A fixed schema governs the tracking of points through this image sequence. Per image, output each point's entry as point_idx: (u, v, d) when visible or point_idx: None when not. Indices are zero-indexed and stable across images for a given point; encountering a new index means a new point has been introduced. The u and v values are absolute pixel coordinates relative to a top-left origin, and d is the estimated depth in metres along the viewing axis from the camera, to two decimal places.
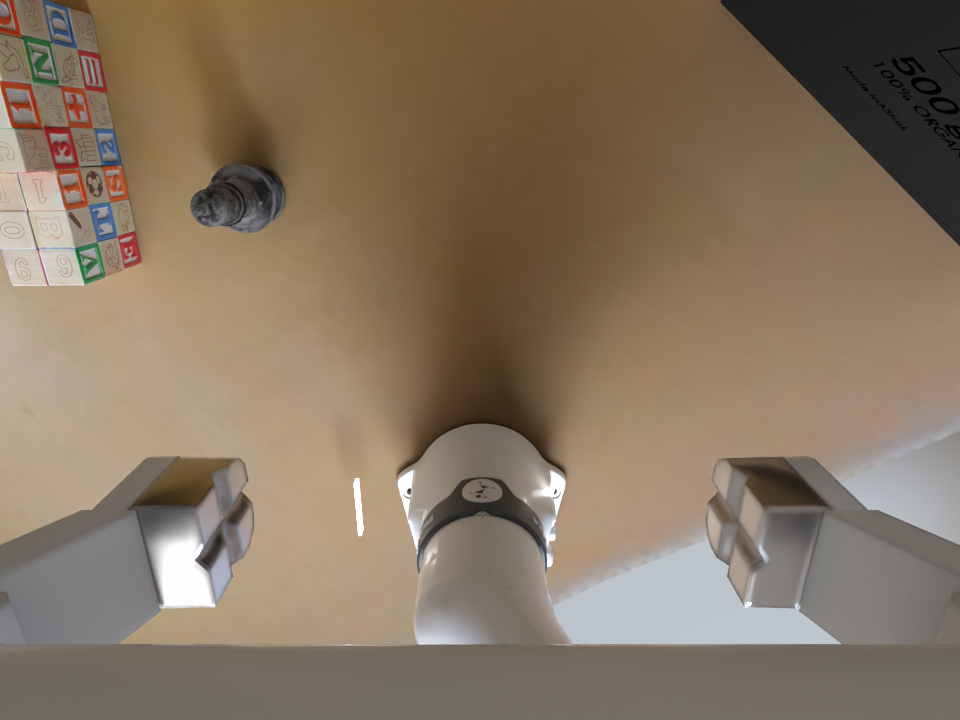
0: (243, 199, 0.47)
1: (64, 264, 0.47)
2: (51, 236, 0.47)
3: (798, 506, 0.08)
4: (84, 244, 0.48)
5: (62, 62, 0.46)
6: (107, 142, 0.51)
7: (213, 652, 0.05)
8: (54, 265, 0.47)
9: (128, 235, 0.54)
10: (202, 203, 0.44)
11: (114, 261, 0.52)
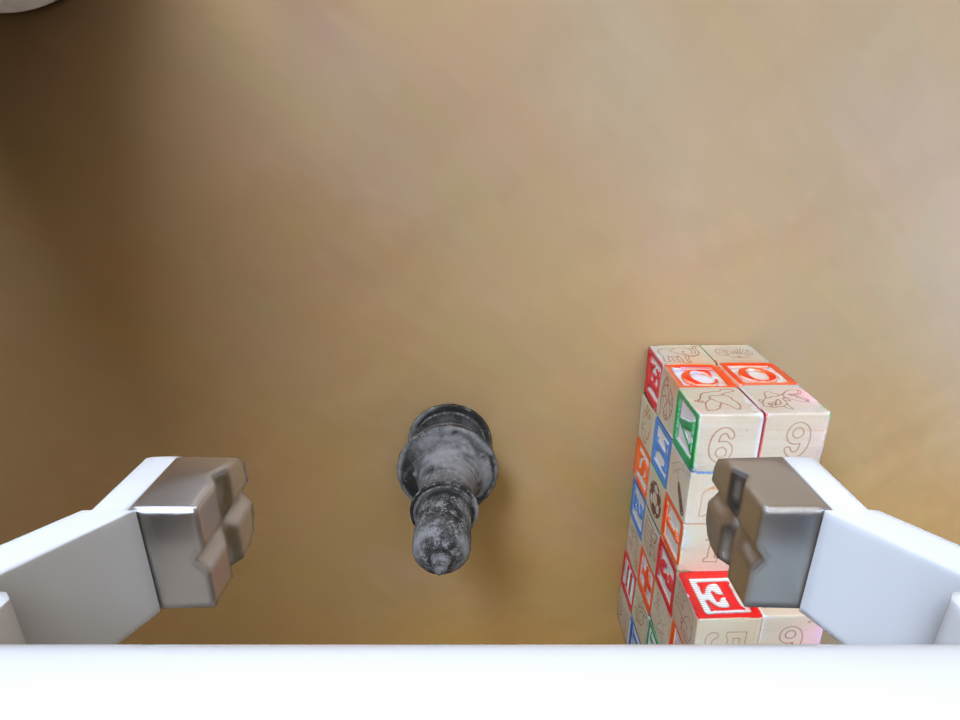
0: (412, 518, 0.30)
1: (721, 447, 0.27)
2: None
3: (798, 506, 0.08)
4: (681, 460, 0.29)
5: (642, 627, 0.36)
6: (637, 510, 0.38)
7: (213, 651, 0.05)
8: (738, 446, 0.27)
9: (649, 397, 0.35)
10: None
11: (666, 391, 0.31)
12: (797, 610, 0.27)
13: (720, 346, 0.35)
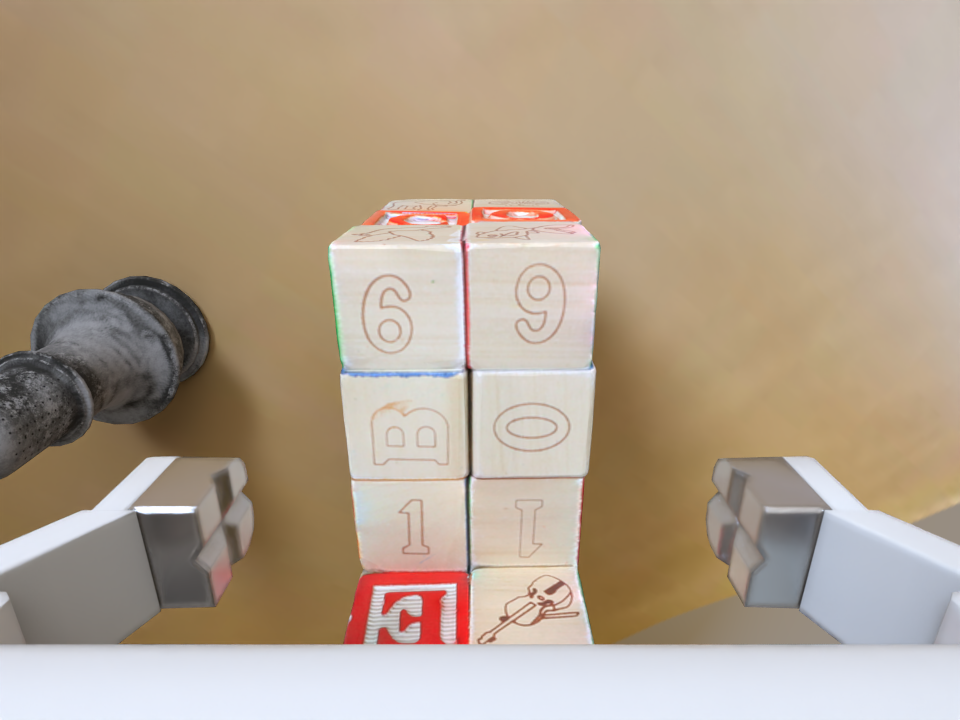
0: None
1: (388, 319, 0.13)
2: (408, 411, 0.14)
3: (798, 506, 0.08)
4: None
5: None
6: None
7: (212, 651, 0.05)
8: (423, 317, 0.13)
9: None
10: None
11: None
12: None
13: (506, 200, 0.21)
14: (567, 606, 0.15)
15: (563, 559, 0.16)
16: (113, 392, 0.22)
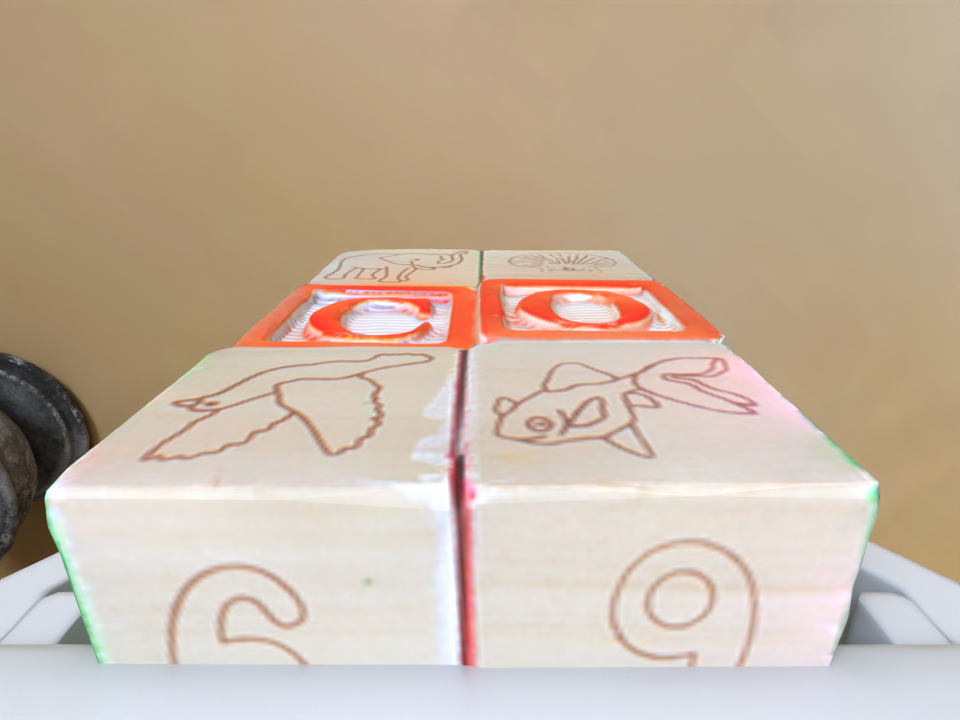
0: None
1: None
2: None
3: None
4: None
5: None
6: None
7: None
8: None
9: None
10: None
11: None
12: None
13: (538, 252, 0.12)
14: None
15: None
16: None
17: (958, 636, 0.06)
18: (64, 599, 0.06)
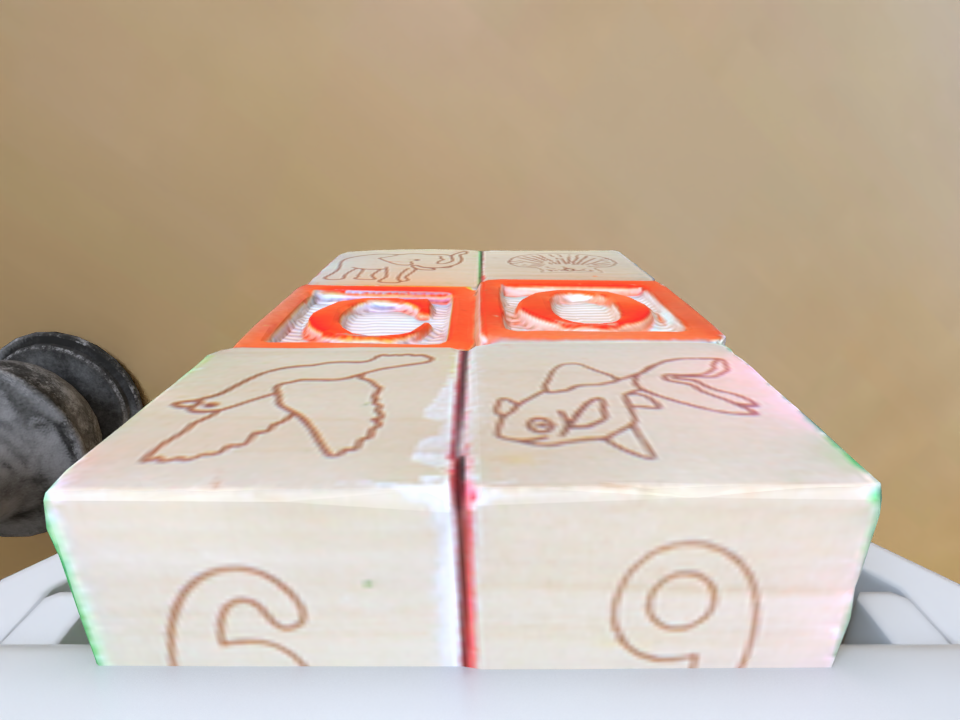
0: None
1: None
2: None
3: None
4: None
5: None
6: None
7: None
8: None
9: None
10: None
11: None
12: None
13: (537, 252, 0.12)
14: None
15: None
16: None
17: (957, 636, 0.06)
18: (65, 599, 0.06)
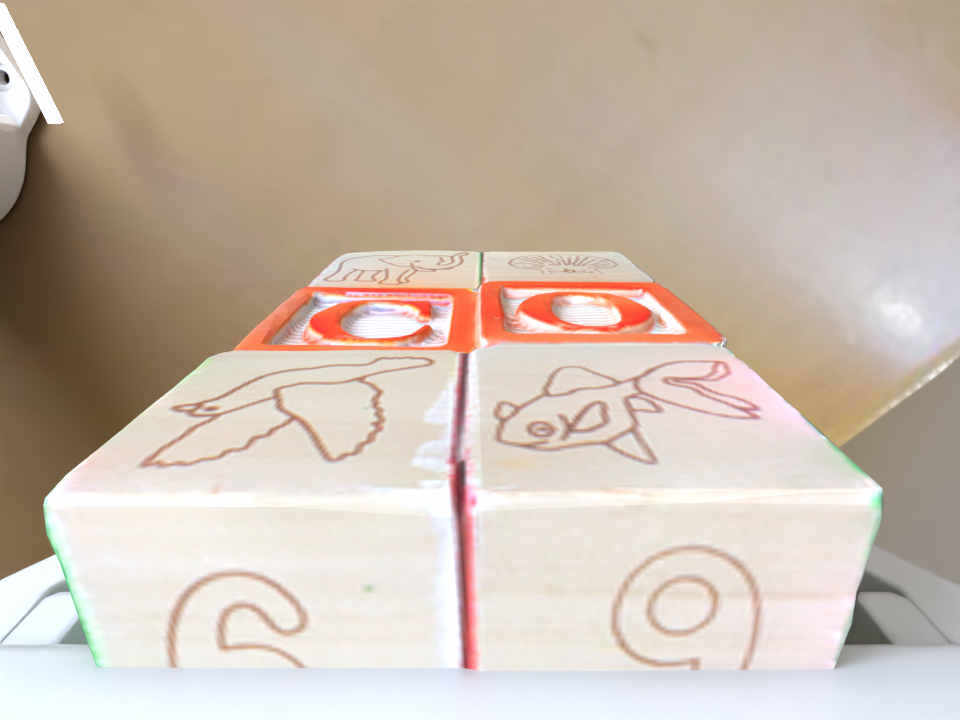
0: None
1: None
2: None
3: None
4: None
5: None
6: None
7: None
8: None
9: None
10: None
11: None
12: None
13: (538, 253, 0.12)
14: None
15: None
16: None
17: (957, 636, 0.06)
18: (65, 599, 0.06)
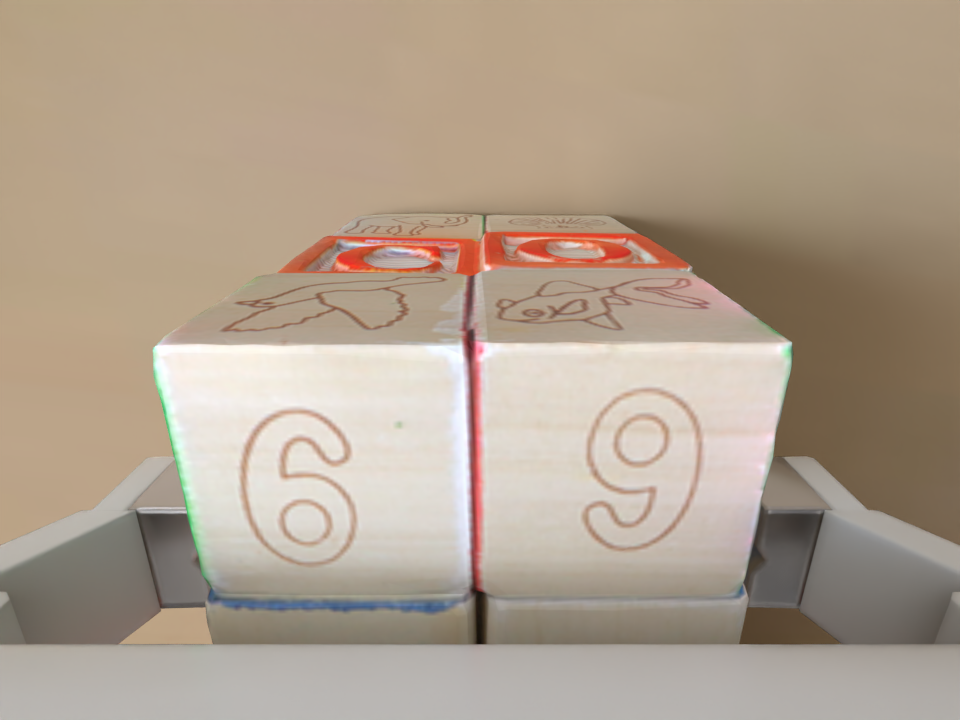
0: None
1: (303, 500, 0.06)
2: None
3: (798, 506, 0.08)
4: None
5: None
6: None
7: (212, 651, 0.05)
8: (378, 498, 0.06)
9: None
10: None
11: None
12: None
13: (535, 216, 0.13)
14: None
15: None
16: None
17: None
18: None
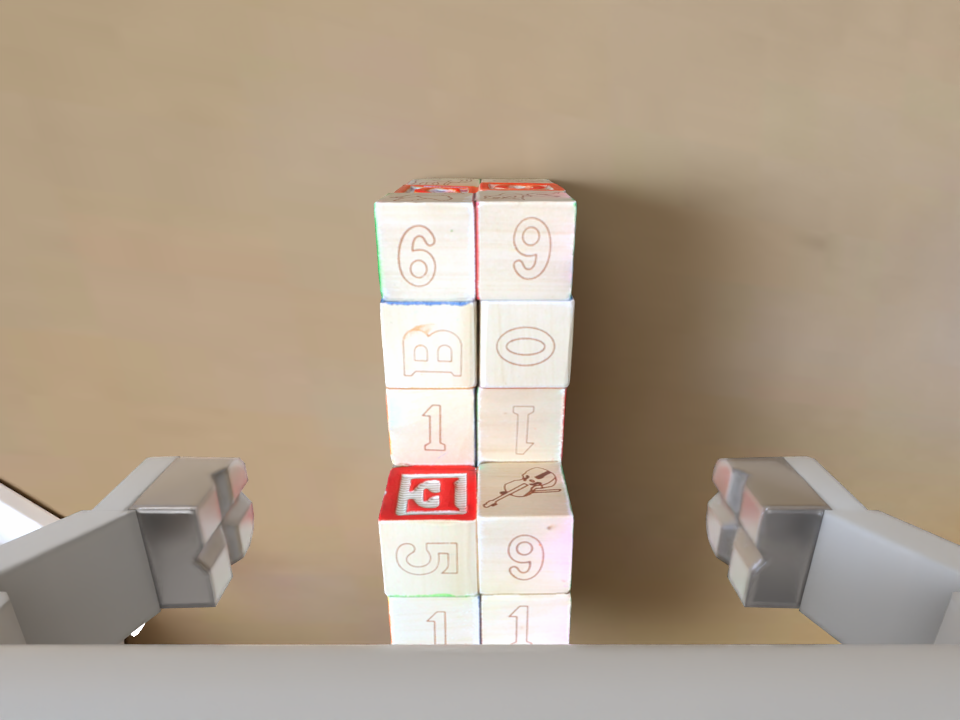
0: None
1: (418, 260, 0.18)
2: (431, 332, 0.19)
3: (798, 506, 0.08)
4: None
5: None
6: None
7: (212, 652, 0.05)
8: (443, 259, 0.18)
9: None
10: None
11: None
12: (532, 511, 0.18)
13: (508, 179, 0.25)
14: (552, 486, 0.19)
15: (550, 456, 0.20)
16: None
17: None
18: None
